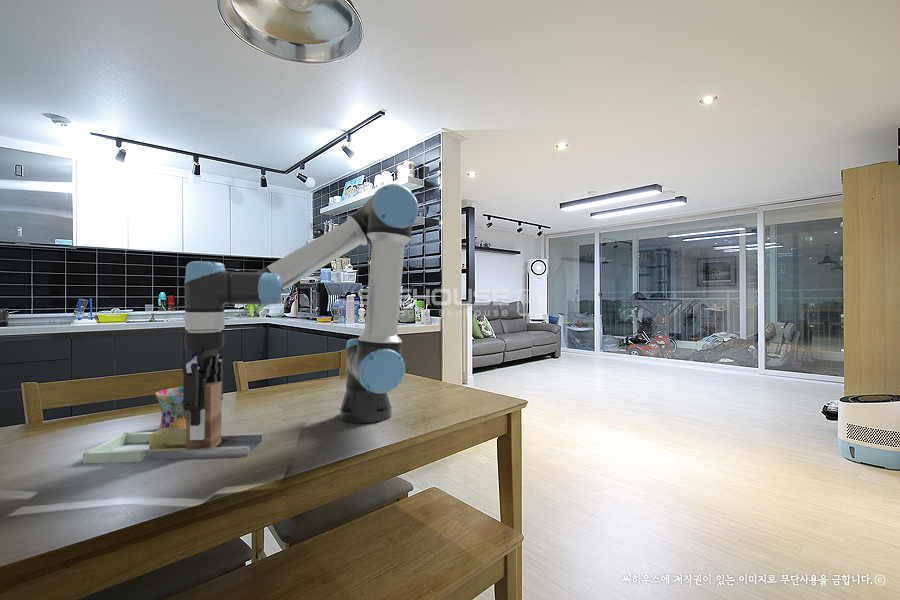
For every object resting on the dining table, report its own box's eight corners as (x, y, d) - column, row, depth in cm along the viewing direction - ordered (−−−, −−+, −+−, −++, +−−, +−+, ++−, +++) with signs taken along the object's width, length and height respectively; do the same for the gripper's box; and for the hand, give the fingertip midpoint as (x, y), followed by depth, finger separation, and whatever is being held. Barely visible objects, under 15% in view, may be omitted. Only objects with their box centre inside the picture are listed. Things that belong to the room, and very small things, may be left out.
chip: (179, 445, 89) (179, 427, 89) (169, 452, 85) (169, 434, 85) (160, 445, 89) (160, 428, 89) (149, 452, 85) (149, 434, 85)
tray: (175, 444, 93) (175, 431, 93) (140, 465, 81) (141, 451, 81) (125, 445, 91) (125, 432, 91) (82, 468, 79) (82, 453, 79)
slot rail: (264, 442, 94) (264, 431, 94) (246, 461, 83) (246, 449, 83) (176, 444, 92) (176, 434, 92) (145, 464, 81) (145, 452, 81)
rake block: (221, 441, 90) (221, 381, 90) (210, 450, 85) (210, 386, 85) (198, 442, 90) (198, 381, 90) (186, 451, 85) (186, 386, 85)
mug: (191, 436, 98) (191, 394, 97) (148, 440, 95) (148, 396, 95) (207, 421, 109) (207, 383, 109) (168, 424, 107) (168, 385, 106)
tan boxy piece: (196, 445, 89) (197, 428, 89) (187, 452, 85) (187, 434, 85) (178, 446, 89) (178, 428, 89) (167, 453, 85) (167, 434, 85)
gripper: (207, 327, 96) (206, 422, 96) (161, 334, 78) (161, 450, 78) (239, 327, 97) (239, 421, 97) (201, 334, 79) (200, 449, 79)
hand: (204, 434), depth 87 cm, fingers closed on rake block, 5 cm apart
